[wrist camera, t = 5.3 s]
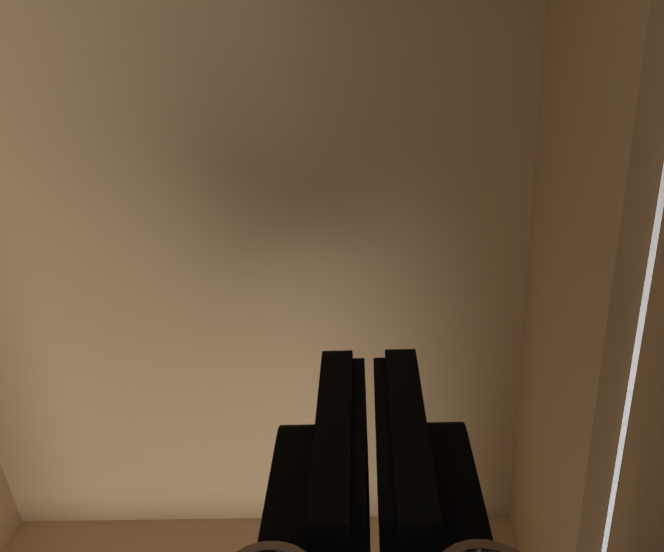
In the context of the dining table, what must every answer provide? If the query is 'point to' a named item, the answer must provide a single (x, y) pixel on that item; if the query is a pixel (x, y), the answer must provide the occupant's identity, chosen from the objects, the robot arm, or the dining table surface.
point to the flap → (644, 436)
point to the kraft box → (315, 250)
